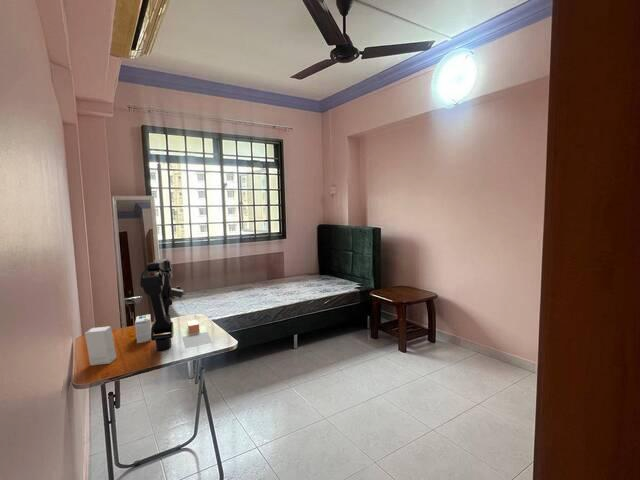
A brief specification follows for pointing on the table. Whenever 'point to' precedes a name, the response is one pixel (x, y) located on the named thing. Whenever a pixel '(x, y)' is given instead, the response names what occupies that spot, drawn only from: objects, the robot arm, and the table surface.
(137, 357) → the table surface
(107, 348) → the skincare box
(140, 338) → the light bulb box
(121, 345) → the table surface
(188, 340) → the board
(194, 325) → the cream block
